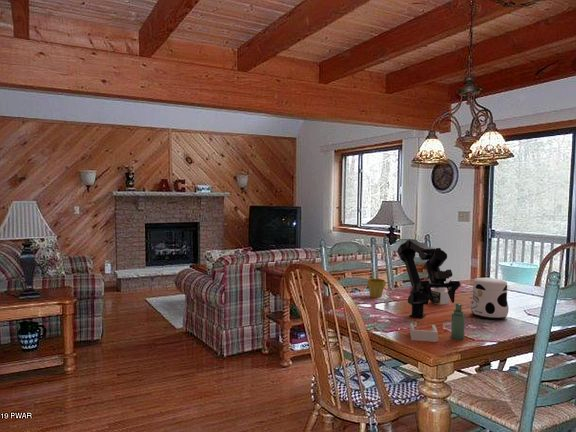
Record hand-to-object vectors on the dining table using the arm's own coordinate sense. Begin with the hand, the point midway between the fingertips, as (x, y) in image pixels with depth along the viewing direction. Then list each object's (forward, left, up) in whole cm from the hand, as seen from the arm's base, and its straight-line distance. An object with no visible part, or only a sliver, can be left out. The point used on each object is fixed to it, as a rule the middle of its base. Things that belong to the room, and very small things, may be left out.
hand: (443, 303), depth 196 cm
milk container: (-40, +14, -13) cm, 44 cm away
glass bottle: (+4, +7, -13) cm, 15 cm away
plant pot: (-48, -48, -13) cm, 69 cm away
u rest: (+11, -5, -13) cm, 18 cm away
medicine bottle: (-54, -13, -13) cm, 57 cm away
